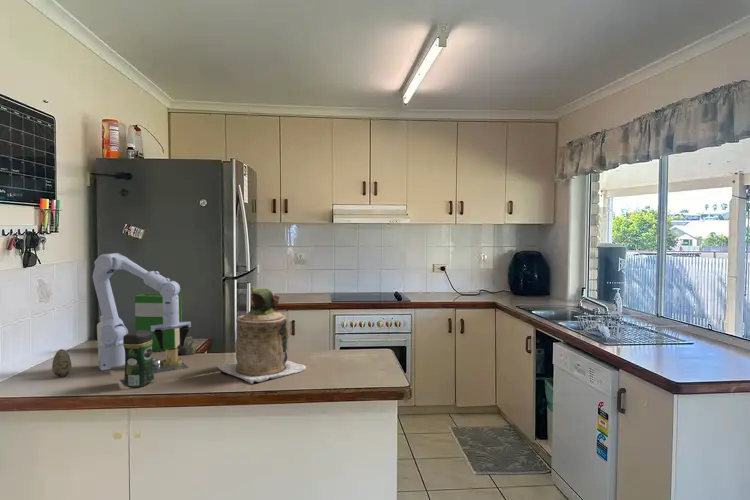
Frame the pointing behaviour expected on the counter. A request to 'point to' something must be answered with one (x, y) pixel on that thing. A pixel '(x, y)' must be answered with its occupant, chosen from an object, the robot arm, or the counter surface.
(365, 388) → the counter surface
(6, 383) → the counter surface
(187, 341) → the fossil
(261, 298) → the cookie jar
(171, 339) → the hardback book
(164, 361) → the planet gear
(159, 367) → the carrier
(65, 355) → the decorative egg
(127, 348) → the coffee jar
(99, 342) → the pill bottle
